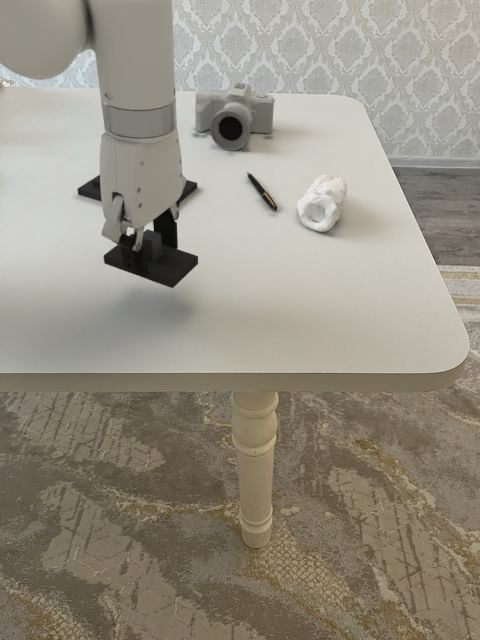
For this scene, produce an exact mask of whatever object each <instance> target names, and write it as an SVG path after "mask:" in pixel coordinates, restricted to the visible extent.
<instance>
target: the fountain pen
mask: <svg viewBox="0 0 480 640" xmlns="http://www.w3.org/2000/svg"><path fill="white" fill-rule="evenodd" d="M246 175H247V178H248V179H249V181H250V182H251V184H252V186H253V187H254V188H255V189H256V190H257V192H258V193H259V194H260V196H261V198H262V199H263V200H264V202H265V203H266V204H267V206H268V207H269V208H271V209H272V210H273V211H278V206H277V204H276V202H275V201H274V199H273V198H272V197H271V195H270V194H269V193H268V191H266V190H265V188H264V187H263V186H262V185H261V183H260V182H259V181H258V180H257V178H255V177H254V175H252V173H250V172H248V171H246Z"/></svg>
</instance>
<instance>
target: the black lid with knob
mask: <svg viewBox="0 0 480 640" xmlns="http://www.w3.org/2000/svg"><path fill="white" fill-rule="evenodd" d="M133 235H134V233H131V234H129V235H128V236H130V237H131V238H133ZM141 247H144V248H145V250H146V260H147V275H146V276H145V277H144V278H143V279H146V280H149V281H151V282H154V283H157V284H160V285H162V286H165V287H168V288H170V289H175V287H176V286H177V285H178V284H179V283H181V281H182V280H183V279H184V278H185V277H186V276H187V275H189V273H190V272H191V271H193V270H194V269H195V268H196V267H197V266H198V265H199V256H198V255H196V254H193V253H190V252H187V251H185V250H181V249H178V248H177V249H176V248H172V247H170V246H167V245H164V244H161V234H160V233H157V232H154V230H151V229H148V228H147V229H146V230H144V233H143V239H142V246H141ZM103 262H104V264H105V265H107V266H110V267H112V268H115V269H118V270H121V271H124V272H126V271H125V270H124V269H123V265H122V256H121V248H120V246H119V245H117V244H116V245H115V246H114V247H113V248H111V249H110V250H109V251H107V252H106V253H104V255H103Z"/></svg>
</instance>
